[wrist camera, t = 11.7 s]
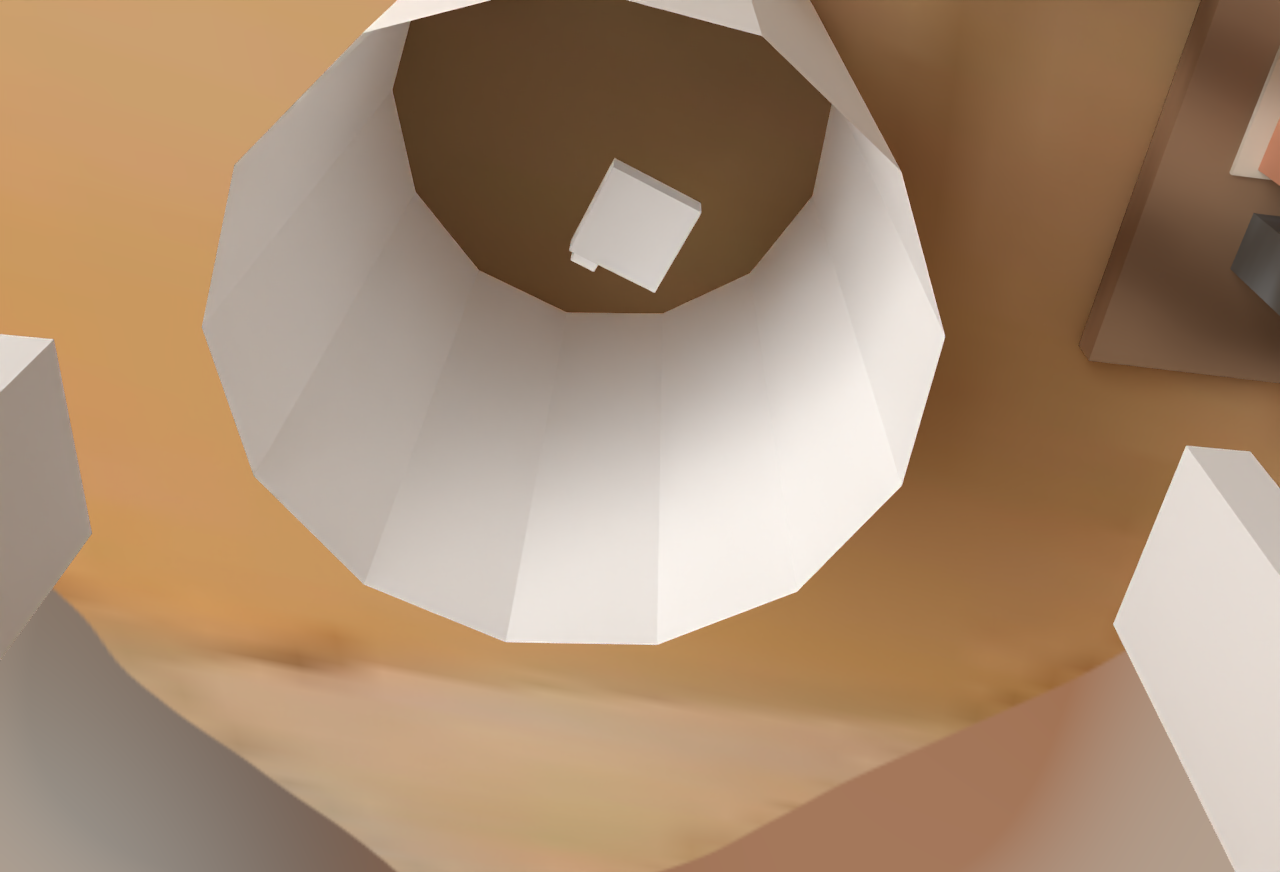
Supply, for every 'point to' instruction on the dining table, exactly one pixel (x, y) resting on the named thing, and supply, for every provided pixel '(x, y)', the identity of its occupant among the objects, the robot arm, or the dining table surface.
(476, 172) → the dining table surface
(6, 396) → the robot arm
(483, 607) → the container
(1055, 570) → the dining table surface
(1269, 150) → the joint block
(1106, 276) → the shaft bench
